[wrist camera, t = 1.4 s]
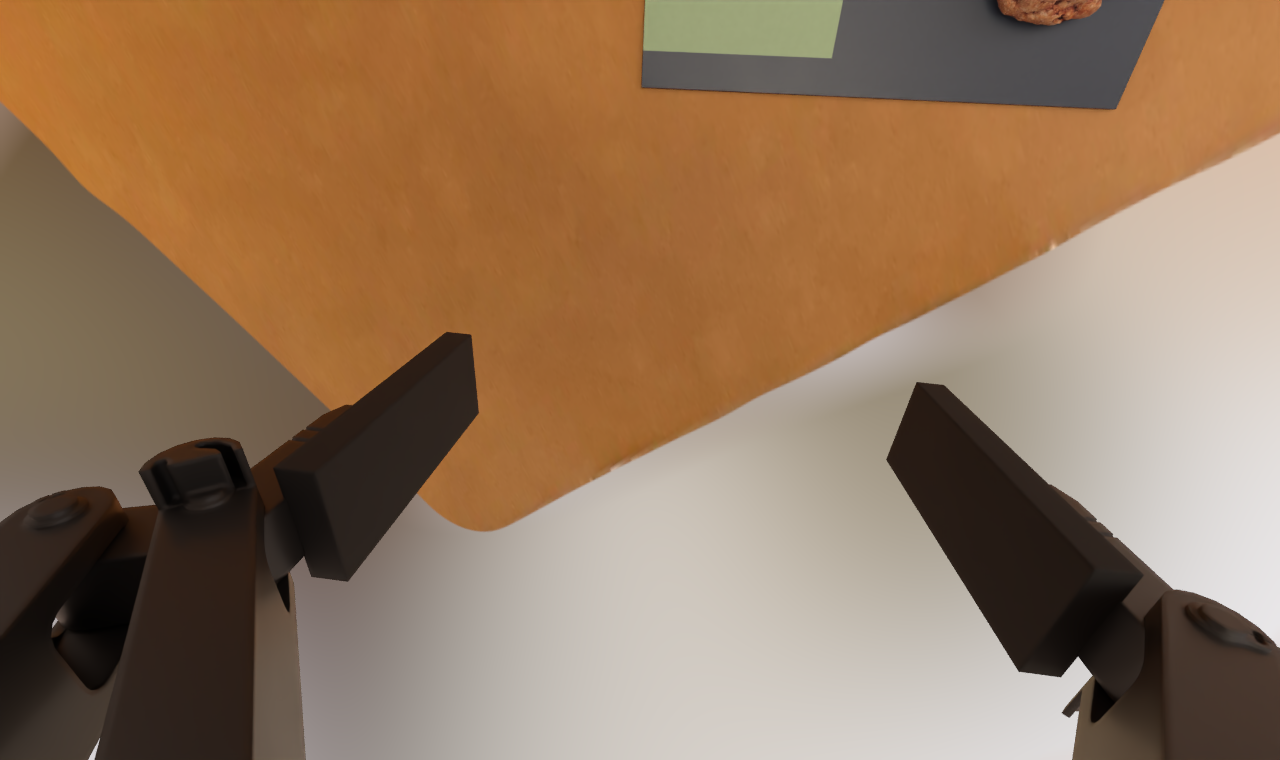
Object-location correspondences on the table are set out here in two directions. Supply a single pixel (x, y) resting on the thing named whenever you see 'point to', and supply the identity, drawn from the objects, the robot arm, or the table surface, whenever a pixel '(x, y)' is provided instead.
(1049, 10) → the cookie
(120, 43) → the table surface
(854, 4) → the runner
